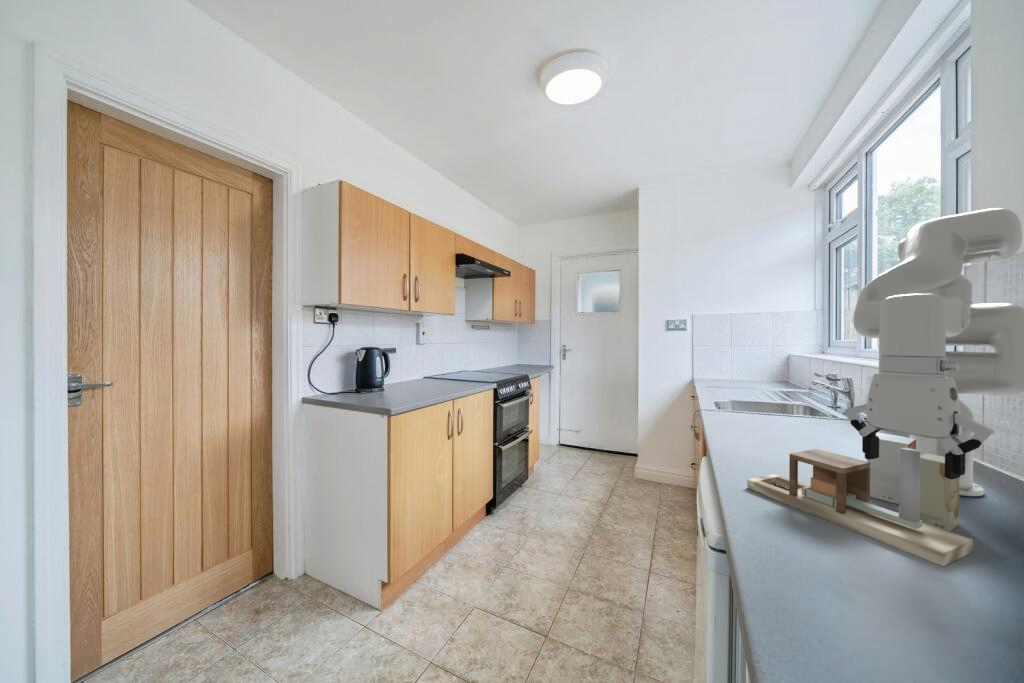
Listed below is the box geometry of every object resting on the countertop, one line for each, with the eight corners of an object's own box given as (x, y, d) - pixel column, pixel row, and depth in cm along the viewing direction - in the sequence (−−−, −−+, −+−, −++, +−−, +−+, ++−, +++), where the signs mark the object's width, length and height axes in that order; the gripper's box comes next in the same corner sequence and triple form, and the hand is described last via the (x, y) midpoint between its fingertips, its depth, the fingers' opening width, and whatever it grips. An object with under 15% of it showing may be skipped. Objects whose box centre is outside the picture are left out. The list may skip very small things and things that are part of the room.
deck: (775, 481, 85) (775, 473, 85) (972, 551, 57) (973, 539, 57) (747, 488, 81) (747, 479, 81) (943, 566, 53) (943, 553, 53)
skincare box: (949, 533, 62) (950, 464, 62) (913, 521, 66) (914, 457, 66) (960, 524, 65) (961, 458, 65) (925, 514, 69) (925, 452, 69)
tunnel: (815, 487, 77) (815, 448, 77) (869, 505, 68) (870, 462, 68) (789, 494, 73) (789, 453, 73) (842, 514, 65) (843, 468, 65)
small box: (908, 507, 72) (909, 444, 72) (865, 496, 77) (866, 436, 77) (916, 497, 76) (917, 438, 76) (875, 487, 82) (875, 431, 82)
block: (822, 494, 73) (822, 475, 73) (846, 502, 70) (846, 482, 70) (810, 497, 72) (810, 477, 72) (834, 506, 68) (834, 485, 68)
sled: (819, 490, 75) (820, 428, 75) (927, 527, 60) (928, 449, 60) (801, 495, 72) (802, 430, 72) (909, 534, 58) (910, 454, 58)
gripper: (1004, 370, 53) (1003, 483, 53) (857, 363, 69) (856, 450, 69) (982, 371, 50) (981, 490, 50) (835, 364, 67) (834, 454, 67)
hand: (909, 467), depth 60 cm, fingers open, 9 cm apart
